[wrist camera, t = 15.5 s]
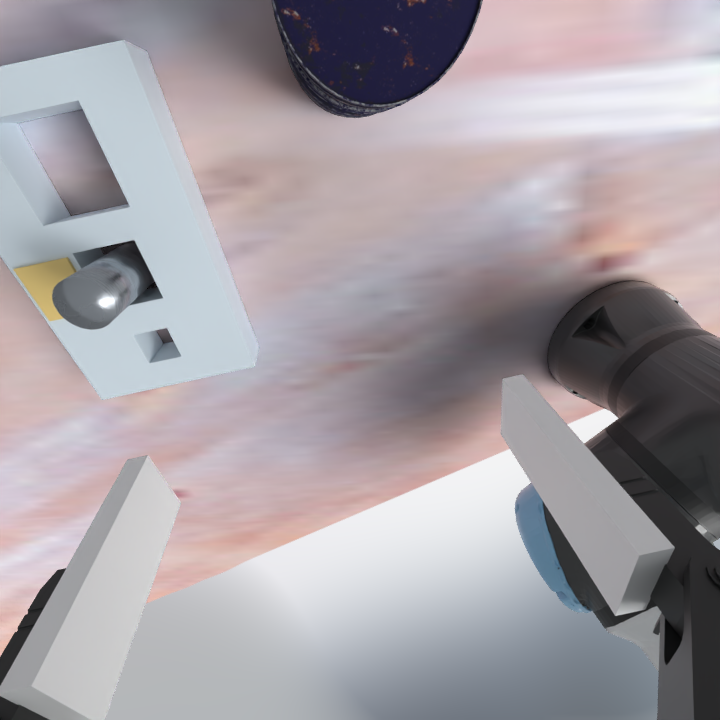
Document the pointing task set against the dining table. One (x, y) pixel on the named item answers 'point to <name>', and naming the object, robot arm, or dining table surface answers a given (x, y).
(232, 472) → the dining table surface
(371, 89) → the storage jar
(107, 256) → the grey rounded cylinder
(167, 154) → the block
